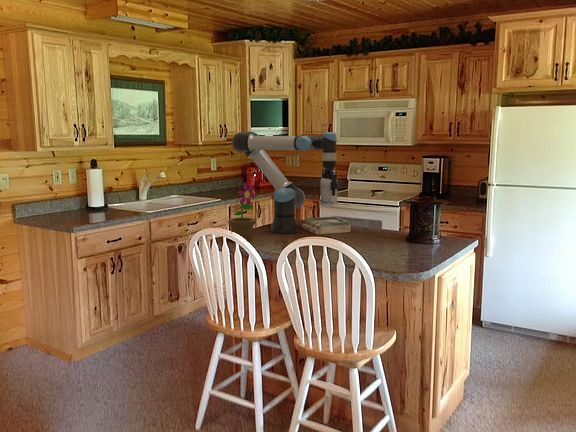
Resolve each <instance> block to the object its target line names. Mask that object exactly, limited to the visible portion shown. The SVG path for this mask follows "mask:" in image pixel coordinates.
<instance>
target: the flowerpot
mask: <svg viewBox="0 0 576 432" xmlns="http://www.w3.org/2000/svg"><path fill="white" fill-rule="evenodd" d="M242 187H243V190H238V191H237V194H238V196H241V199H240V203H239V205H241V208H240V211H239V210H238V211H235V213H234V215H235V216H240V217H232V218H229V219H228V221H227V224H228V225H229V226H230V232H231V233H232V232H235V233H238V234H239V235H240V236H242V237H243V238H245V239H246V240H247V241H248V242H249V241H252V240H253V234H254V233H253V231H254V225H256V223H257V222H256V219H257V218H253V217H244V210H246V211H247V210H250V209H252V208H253V207H254V206H253V205H252V204H251V203H252V202H251V199H255V198H256V197H257V195H256V194H255V193H252V192H253V190H254V188H255V187H254V184H251V185H249V187H248V184H247V183H246V182H243V185H242ZM245 202H246V203H245ZM247 241H246V242H247Z"/></svg>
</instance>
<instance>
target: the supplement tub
mask: <svg viewBox="0 0 576 432" xmlns="http://www.w3.org/2000/svg"><path fill="white" fill-rule="evenodd" d="M321 178H322V177H321ZM321 178H320V183H319V184H320V188H319V189H320V194H319V195H320V196H319V197H320V203H319V204H320V205H321V206H326V207H327V206H329V207H331V206H336V205H338V189H336V190H335V201H333V202H330V189H331V182H332V180H329V179H328V178H322V179H321Z"/></svg>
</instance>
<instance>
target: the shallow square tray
mask: <svg viewBox="0 0 576 432" xmlns="http://www.w3.org/2000/svg"><path fill="white" fill-rule="evenodd" d="M351 225H352V222H351V221H349V220H346V219H344V218H340V217H338V216H334V215H333V216H321V217H319V216H318V217H307V218H306V224H305V223H303V224H301V228H302V229H304V230H306V231H308V232H310V233H312V234H314V233H315V235H323V234H324V235H326V234H338V233H339V234H340V233H341V234H342V233H350V232H351V231H352V230H351Z"/></svg>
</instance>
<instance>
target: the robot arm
mask: <svg viewBox="0 0 576 432" xmlns="http://www.w3.org/2000/svg"><path fill="white" fill-rule="evenodd" d="M231 145H232V148H233V150H234V151H236V152H238V153H244V155H245V156H246V157H247V158H248V159H251V160H252V161H253V162H254V164H256V166H257V167H258V168H259V169H260V171H261V172H262V173H263V175H264V176H265V177H266V178H267V180H268V181H269V182H270V184H271V185H272V187H273V188H274V189H275V190H274V192H273V220H272V223H271V227H270V232H271V233H275V234H281V235H282V234H284V235H287V234H295V233H298V232H299V226H298V222H297V220H296V209H299V208H301V207H302V205H304V203H305V199H306V198H305V197H306V196H305V193H304V191H303V190H302V189H301V188H299V187H297V186H296V185H295V184H294V183H293V181H289V180H288V179H287V178H286V176H285V175H284V173H282V171H281V170H280V169H279V167H278V166H277V165H276V164H275V162H274V161H273V160H272V158H271V157H270V156H269V155H268V153H267V152H266V151H267V150H268V151H305V152H306V151H309V150H322V155H321V157H322V168H324V169H321V178H320V180H321V179H322V178H328V179H329V180H332V182H331V189H330V202H333V201H335V190H336V189H337V190H338V188H339V186H338V178H337V173H338V172H337V170H334V169H335V168H336V167H337V161H336V160H337V133H336V132H330V131H329V132H327V131H325V132H323V133H322V135H259V134H258V133H256V132H254V131H239V132H237V133H235V134H234V135H233V137H232V139H231ZM265 150H266V151H265Z"/></svg>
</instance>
